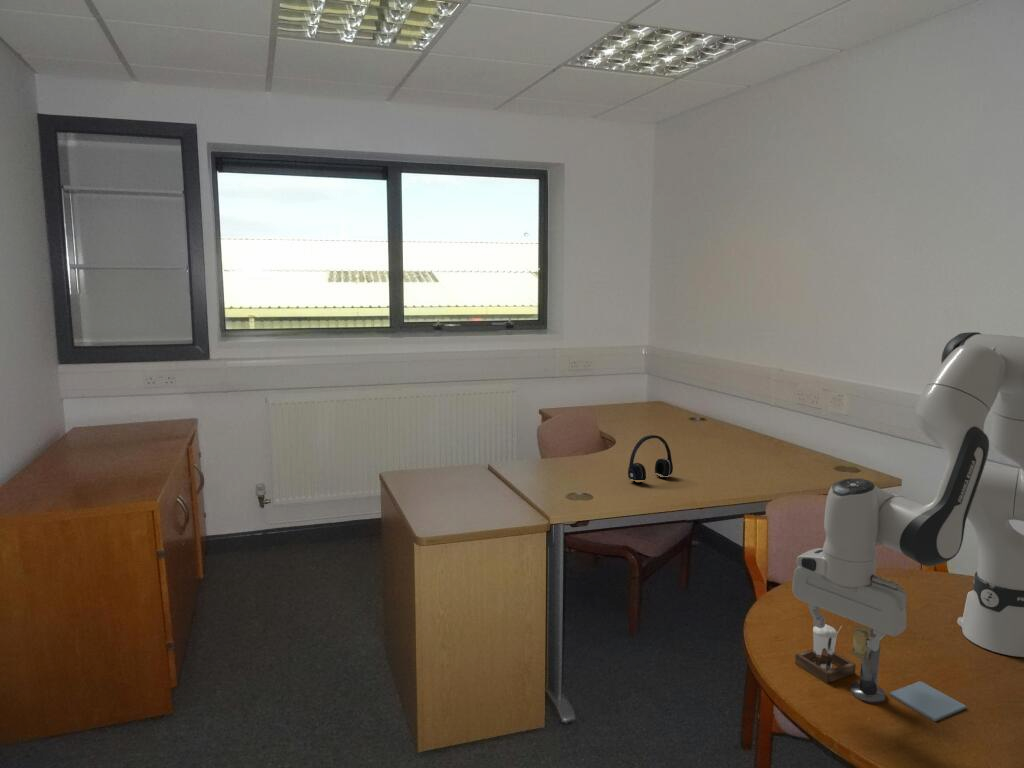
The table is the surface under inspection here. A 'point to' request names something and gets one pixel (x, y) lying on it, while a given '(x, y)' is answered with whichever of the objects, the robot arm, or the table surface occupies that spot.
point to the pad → (927, 701)
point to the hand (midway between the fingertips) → (844, 637)
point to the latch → (862, 642)
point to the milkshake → (824, 646)
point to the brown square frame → (827, 676)
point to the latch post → (869, 680)
